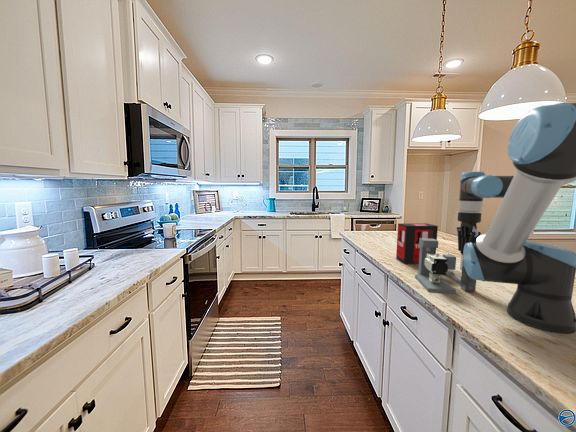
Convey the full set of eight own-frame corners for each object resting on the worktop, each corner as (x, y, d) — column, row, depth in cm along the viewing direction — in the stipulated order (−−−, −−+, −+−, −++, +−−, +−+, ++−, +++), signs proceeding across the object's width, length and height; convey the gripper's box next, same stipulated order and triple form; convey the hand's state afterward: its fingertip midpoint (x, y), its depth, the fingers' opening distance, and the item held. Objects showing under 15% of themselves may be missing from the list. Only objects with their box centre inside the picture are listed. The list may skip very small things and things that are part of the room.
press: (479, 294, 95) (483, 250, 93) (427, 291, 98) (430, 248, 96) (450, 273, 118) (453, 237, 116) (409, 271, 121) (411, 236, 119)
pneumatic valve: (434, 277, 110) (437, 250, 108) (446, 288, 98) (449, 257, 97) (421, 276, 111) (423, 249, 109) (431, 287, 99) (433, 256, 98)
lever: (475, 291, 98) (478, 262, 96) (465, 290, 98) (467, 262, 97) (451, 273, 117) (453, 249, 116) (442, 273, 118) (444, 249, 116)
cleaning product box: (404, 264, 133) (406, 226, 130) (396, 259, 141) (398, 223, 139) (434, 263, 134) (437, 225, 131) (424, 258, 142) (427, 223, 140)
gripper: (490, 213, 93) (484, 276, 95) (471, 210, 106) (466, 266, 108) (467, 213, 94) (462, 275, 97) (451, 210, 107) (447, 265, 109)
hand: (464, 270), depth 102 cm, fingers closed
